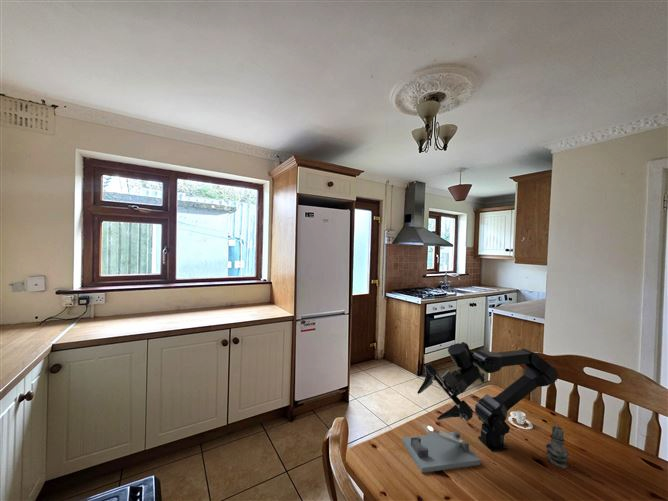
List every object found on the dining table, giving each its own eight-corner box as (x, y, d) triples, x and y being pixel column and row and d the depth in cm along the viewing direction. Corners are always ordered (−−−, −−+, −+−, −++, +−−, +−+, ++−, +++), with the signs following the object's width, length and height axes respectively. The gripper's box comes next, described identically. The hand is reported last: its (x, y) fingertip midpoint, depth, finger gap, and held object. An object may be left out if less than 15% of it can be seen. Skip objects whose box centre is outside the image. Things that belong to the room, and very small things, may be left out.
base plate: (454, 435, 96) (454, 424, 96) (480, 464, 83) (480, 451, 83) (402, 441, 92) (403, 430, 92) (421, 472, 79) (421, 459, 79)
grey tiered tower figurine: (573, 470, 82) (574, 431, 82) (552, 466, 83) (553, 428, 83) (561, 455, 88) (562, 419, 88) (541, 452, 89) (542, 417, 89)
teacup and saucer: (508, 413, 111) (508, 404, 111) (532, 421, 106) (532, 411, 106) (507, 424, 103) (507, 414, 103) (533, 433, 99) (533, 422, 99)
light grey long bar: (459, 442, 91) (461, 436, 91) (465, 448, 88) (467, 442, 88) (422, 427, 88) (425, 421, 88) (427, 433, 85) (429, 427, 85)
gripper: (441, 345, 92) (405, 372, 89) (489, 394, 78) (448, 427, 75) (442, 359, 99) (409, 384, 96) (486, 406, 85) (449, 436, 82)
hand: (427, 405), depth 87 cm, fingers open, 9 cm apart
